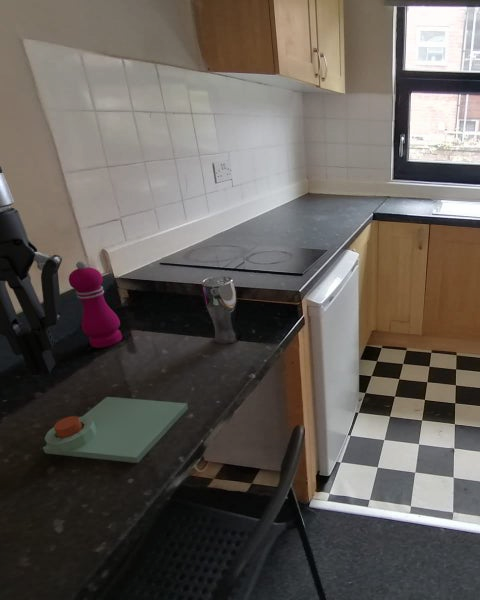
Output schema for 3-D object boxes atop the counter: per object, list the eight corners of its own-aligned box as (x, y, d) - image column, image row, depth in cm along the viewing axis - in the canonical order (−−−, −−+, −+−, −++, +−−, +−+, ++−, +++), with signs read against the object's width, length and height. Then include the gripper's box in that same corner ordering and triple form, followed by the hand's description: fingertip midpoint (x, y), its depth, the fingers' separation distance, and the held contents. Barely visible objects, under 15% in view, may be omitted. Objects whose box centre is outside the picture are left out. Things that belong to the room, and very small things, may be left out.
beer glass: (249, 335, 98) (240, 278, 92) (225, 348, 93) (213, 288, 87) (230, 329, 102) (220, 273, 96) (206, 340, 96) (193, 282, 90)
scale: (41, 456, 63) (34, 441, 62) (108, 401, 75) (104, 388, 74) (135, 466, 61) (130, 451, 60) (188, 408, 74) (185, 395, 72)
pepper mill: (108, 350, 92) (79, 268, 84) (80, 347, 93) (50, 266, 85) (131, 335, 99) (107, 257, 91) (106, 332, 100) (80, 255, 92)
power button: (52, 437, 63) (48, 428, 62) (69, 423, 66) (66, 415, 65) (70, 439, 63) (66, 430, 62) (87, 425, 66) (84, 416, 65)
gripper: (-121, 221, 44) (-29, 395, 54) (33, 211, 49) (92, 372, 59) (-80, 208, 51) (-4, 366, 60) (53, 201, 56) (104, 348, 65)
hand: (44, 369), depth 60 cm, fingers closed
